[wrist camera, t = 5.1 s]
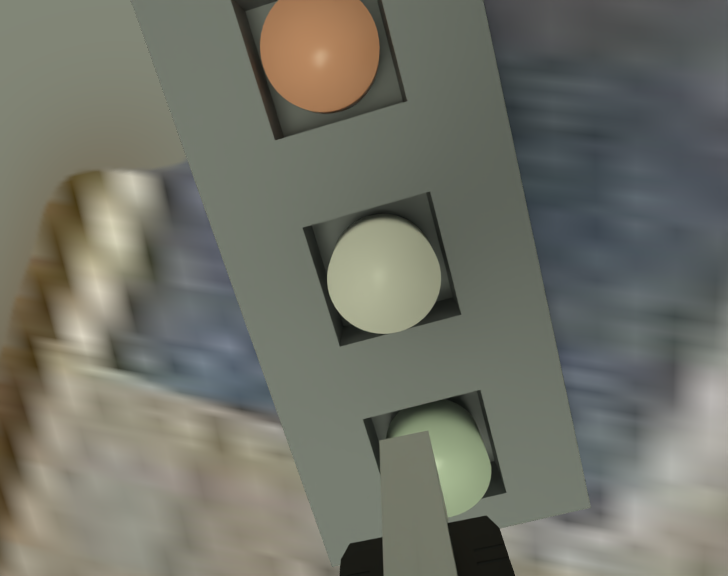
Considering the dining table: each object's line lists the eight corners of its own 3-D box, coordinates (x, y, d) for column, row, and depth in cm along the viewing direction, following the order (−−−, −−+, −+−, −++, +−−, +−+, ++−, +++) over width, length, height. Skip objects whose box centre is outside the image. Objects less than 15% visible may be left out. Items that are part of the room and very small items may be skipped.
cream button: (419, 201, 27) (425, 209, 24) (444, 298, 28) (453, 317, 26) (319, 229, 28) (312, 241, 25) (348, 324, 29) (345, 345, 26)
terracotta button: (362, -15, 26) (360, -34, 23) (390, 96, 27) (393, 92, 24) (258, 18, 26) (244, 4, 24) (291, 126, 28) (281, 125, 25)
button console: (437, -81, 28) (454, -137, 22) (555, 446, 35) (590, 507, 30) (171, 5, 29) (121, -26, 24) (338, 498, 37) (332, 566, 31)
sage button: (467, 388, 30) (478, 415, 27) (489, 470, 31) (501, 505, 28) (374, 411, 30) (375, 441, 27) (399, 491, 31) (402, 528, 28)
